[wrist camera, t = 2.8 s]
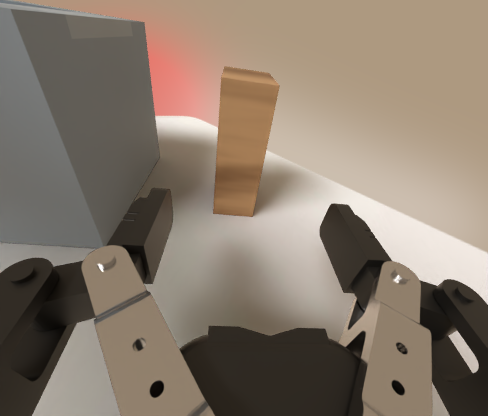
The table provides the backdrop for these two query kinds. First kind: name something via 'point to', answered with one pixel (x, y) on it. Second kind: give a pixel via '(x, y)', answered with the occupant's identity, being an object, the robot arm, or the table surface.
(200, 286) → the table surface
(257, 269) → the table surface
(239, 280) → the table surface
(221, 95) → the wooden block
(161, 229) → the robot arm
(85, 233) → the grey box with opening
